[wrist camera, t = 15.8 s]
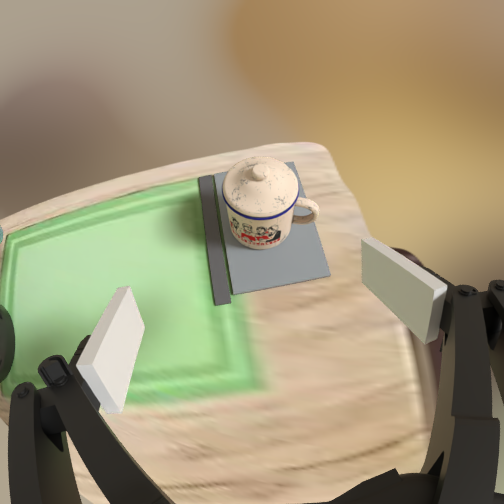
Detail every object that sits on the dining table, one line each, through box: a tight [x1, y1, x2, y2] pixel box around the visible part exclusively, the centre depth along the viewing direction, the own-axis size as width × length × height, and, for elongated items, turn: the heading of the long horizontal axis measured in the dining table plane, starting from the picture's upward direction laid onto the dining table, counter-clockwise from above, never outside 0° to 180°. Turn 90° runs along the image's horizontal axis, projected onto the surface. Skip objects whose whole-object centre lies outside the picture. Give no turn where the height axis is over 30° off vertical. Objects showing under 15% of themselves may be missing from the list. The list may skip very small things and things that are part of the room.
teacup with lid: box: [222, 157, 319, 250], centre depth 36 cm, size 12×9×12 cm
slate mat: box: [214, 162, 331, 295], centre depth 42 cm, size 13×20×1 cm, turn 11°
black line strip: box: [199, 175, 231, 306], centre depth 42 cm, size 2×21×1 cm, turn 11°
